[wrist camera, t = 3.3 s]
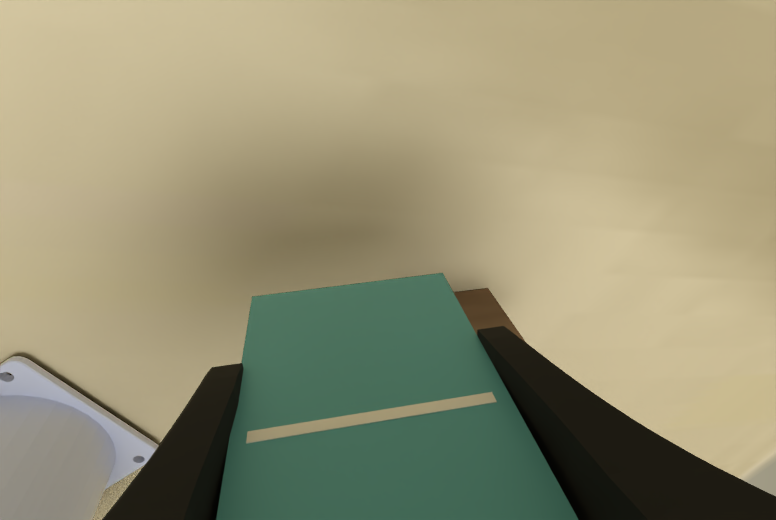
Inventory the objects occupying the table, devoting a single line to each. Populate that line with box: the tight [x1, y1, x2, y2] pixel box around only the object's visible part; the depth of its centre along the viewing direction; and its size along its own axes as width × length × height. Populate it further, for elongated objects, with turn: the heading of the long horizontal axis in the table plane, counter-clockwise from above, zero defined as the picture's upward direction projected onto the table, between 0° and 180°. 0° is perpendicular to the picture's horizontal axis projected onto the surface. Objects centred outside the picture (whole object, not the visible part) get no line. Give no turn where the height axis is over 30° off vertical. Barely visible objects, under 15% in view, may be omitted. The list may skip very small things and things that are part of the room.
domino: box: [216, 273, 578, 520], centre depth 8 cm, size 2×5×9 cm, turn 93°
